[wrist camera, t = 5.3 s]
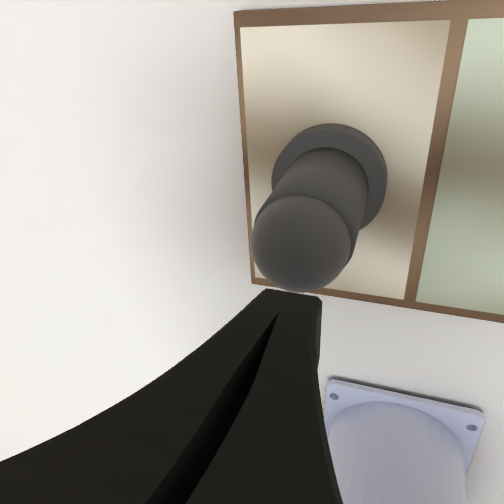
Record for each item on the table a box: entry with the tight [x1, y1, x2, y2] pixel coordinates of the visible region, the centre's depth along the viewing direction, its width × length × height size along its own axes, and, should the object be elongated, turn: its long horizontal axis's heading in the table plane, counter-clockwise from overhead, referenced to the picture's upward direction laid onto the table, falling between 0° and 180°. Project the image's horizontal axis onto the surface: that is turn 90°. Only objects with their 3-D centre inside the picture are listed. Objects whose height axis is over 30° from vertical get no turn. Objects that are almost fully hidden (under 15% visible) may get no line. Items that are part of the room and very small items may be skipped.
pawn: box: [251, 123, 388, 293], centre depth 14 cm, size 4×4×7 cm
